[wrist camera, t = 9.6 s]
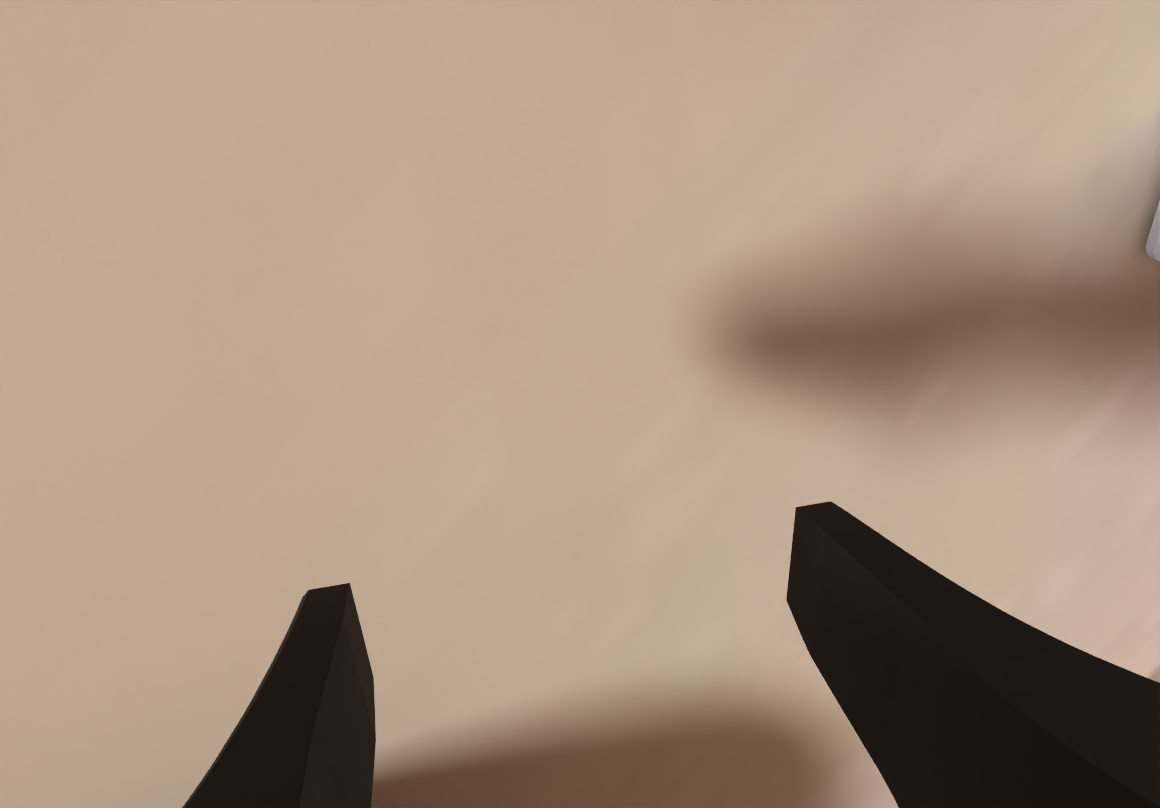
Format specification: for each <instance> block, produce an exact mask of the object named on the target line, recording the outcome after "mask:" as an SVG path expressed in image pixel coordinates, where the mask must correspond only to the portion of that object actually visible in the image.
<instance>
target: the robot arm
mask: <svg viewBox="0 0 1160 808" xmlns="http://www.w3.org/2000/svg"><path fill="white" fill-rule="evenodd" d="M1146 253H1147V255H1148V256H1149V257H1150V258H1152V259H1154V260H1156V261H1159V262H1160V201H1159V204H1158V207H1157V211H1156V214H1155V217H1154V220H1153V224H1152V227H1151V230H1150V233H1149V237H1148V240H1147V243H1146ZM787 602H788V605H789V607H790V610H791V612H792V614H793V617H794V619H795V622H796V624H797V626H798V629H799V631H800V633H801V636H802V638H803V640H804V642H805V644H806V647H807V649H808V651H809V653H810V655H811V657H812V659H813V661H814V662H815V664H816V666H817V667H818V669H819V671H820V673H821V674H822V676H823V678H824V679H825V681H826V683H827V684H828V686H829V688H830V690H831V691H832V693H833V695H834V696H835V698H836V700H837V701H838V703H839V705H840V706H841V708H842V710H843V711H844V713H845V715H846V716H847V718H848V720H849V721H850V723H851V725H852V726H853V728H854V730H855V731H856V733H857V734H858V736H859V738H860V739H861V741H862V743H863V744H864V746H865V748H866V749H867V751H868V753H869V754H870V756H871V758H872V759H873V761H874V763H875V764H876V766H877V768H878V769H879V771H880V773H881V775H882V777H883V778H884V780H885V782H886V784H887V786H888V787H889V789H890V791H891V793H892V795H893V797H894V799H895V801H896V803H897V805H898V807H899V808H1160V683H1159V682H1156V681H1153V680H1151V679H1148V678H1145V677H1143V676H1140V675H1138V674H1136V673H1133V672H1131V671H1128V670H1126V669H1124V668H1121V667H1119V666H1116V665H1114V664H1112V663H1109V662H1107V661H1104V660H1102V659H1100V658H1097V657H1095V656H1093V655H1090V654H1088V653H1086V652H1084V651H1082V650H1079V649H1077V648H1075V647H1073V646H1071V645H1068V644H1066V643H1064V642H1062V641H1060V640H1058V639H1056V638H1054V637H1052V636H1050V635H1048V634H1046V633H1044V632H1042V631H1040V630H1038V629H1036V628H1034V627H1032V626H1030V625H1028V624H1026V623H1024V622H1022V621H1020V620H1018V619H1017V618H1015V617H1013V616H1011V615H1009V614H1007V613H1005V612H1004V611H1002V610H1000V609H998V608H997V607H995V606H993V605H991V604H990V603H988V602H986V601H984V600H983V599H981V598H979V597H978V596H976V595H974V594H972V593H971V592H969V591H967V590H965V589H964V588H962V587H961V586H959V585H957V584H956V583H954V582H952V581H951V580H949V579H948V578H946V577H944V576H943V575H941V574H940V573H938V572H936V571H935V570H933V569H932V568H930V567H929V566H927V565H926V564H924V563H922V562H921V561H919V560H918V559H916V558H915V557H913V556H912V555H910V554H909V553H907V552H906V551H904V550H903V549H901V548H900V547H898V546H897V545H895V544H894V543H892V542H891V541H889V540H888V539H886V538H885V537H883V536H882V535H880V534H879V533H878V532H876V531H875V530H873V529H872V528H870V527H869V526H867V525H866V524H864V523H863V522H861V521H860V520H858V519H857V518H855V517H854V516H853V515H851V514H850V513H848V512H847V511H845V510H843V509H842V508H840V507H839V506H837V505H836V504H834V503H833V502H831V501H830V502H825V503H819V504H813V505H807V506H801V507H796V512H795V522H794V532H793V541H792V551H791V561H790V571H789V581H788V590H787ZM375 743H376V734H375V704H374V681H373V674H372V670H371V666H370V662H369V658H368V654H367V650H366V646H365V642H364V638H363V634H362V630H361V626H360V622H359V618H358V614H357V610H356V606H355V602H354V598H353V594H352V590H351V586H350V583H347V584H341V585H336V586H330V587H324V588H318V589H312V590H308V592H307V593H306V594H305V595H304V596H303V598H302V600H301V602H300V605H299V607H298V609H297V612H296V614H295V616H294V618H293V621H292V623H291V625H290V627H289V629H288V631H287V634H286V636H285V638H284V640H283V642H282V644H281V646H280V648H279V650H278V652H277V654H276V656H275V658H274V660H273V662H272V664H271V666H270V667H269V669H268V671H267V673H266V675H265V677H264V679H263V680H262V682H261V684H260V686H259V688H258V690H257V691H256V693H255V695H254V697H253V699H252V701H251V702H250V704H249V706H248V708H247V709H246V711H245V713H244V715H243V716H242V718H241V719H240V721H239V723H238V724H237V726H236V727H235V729H234V731H233V732H232V734H231V736H230V737H229V739H228V740H227V742H226V744H225V745H224V747H223V749H222V750H221V752H220V753H219V755H218V757H217V758H216V760H215V761H214V763H213V764H212V766H211V767H210V769H209V770H208V772H207V773H206V775H205V776H204V778H203V779H202V781H201V782H200V784H199V785H198V786H197V788H196V789H195V791H194V792H193V794H192V795H191V796H190V798H189V799H188V801H187V802H186V803H185V805H184V806H183V807H182V808H371V797H372V784H373V771H374V757H375Z"/></svg>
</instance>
